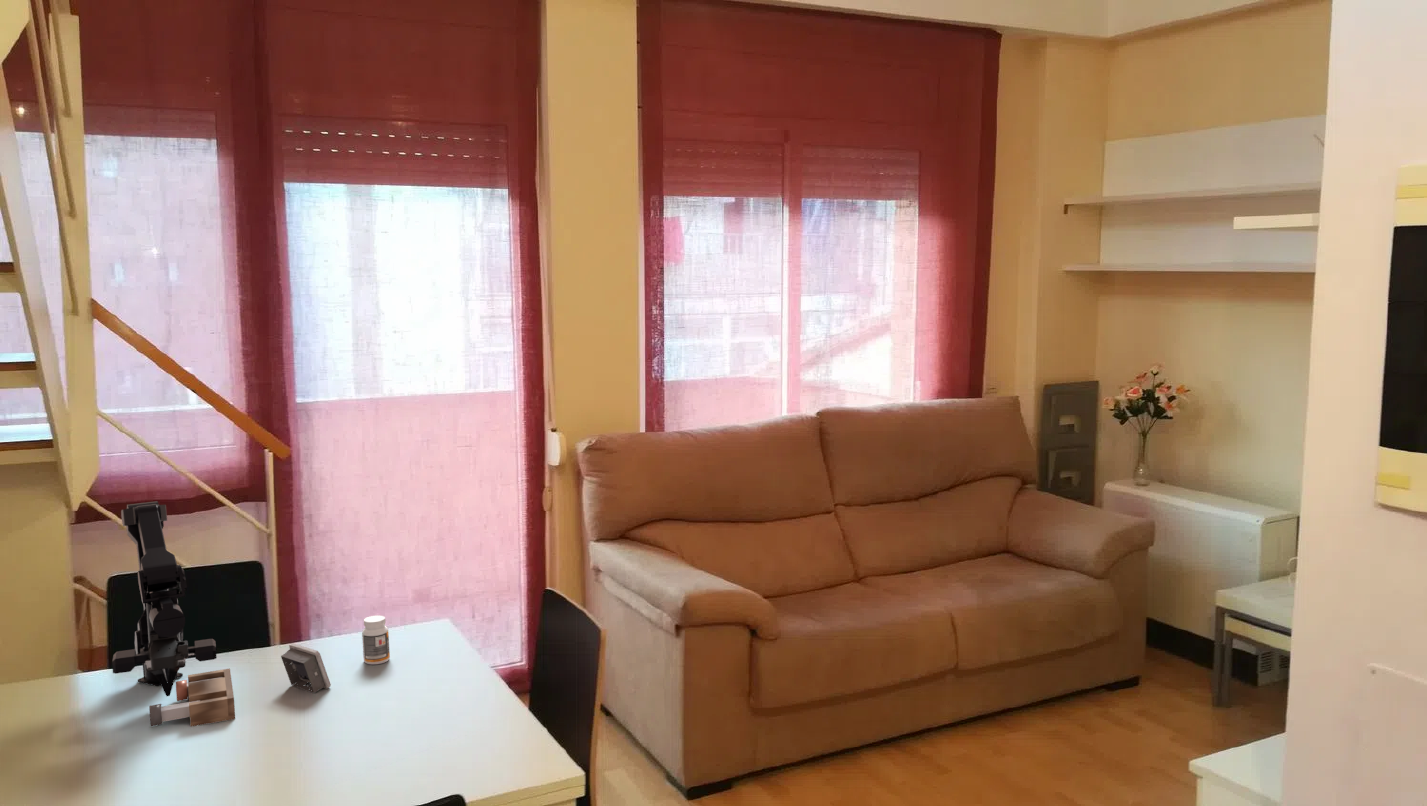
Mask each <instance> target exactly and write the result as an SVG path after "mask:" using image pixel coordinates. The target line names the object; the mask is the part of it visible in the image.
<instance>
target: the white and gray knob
mask: <svg viewBox="0 0 1427 806" xmlns="http://www.w3.org/2000/svg"><path fill="white" fill-rule="evenodd" d="M198 701H200V700H198ZM192 702H197V701H192ZM189 703H191V702H189V701H187V702H181V703H175V704H171V705H164V706H162V703H157V704H151V705H149V709H148V710H149V711H148V712H149V724H150V727H151V728H153V727H156V726H157V727H158V726H162V725H163V722H168V721H174V720H179V719H185V718H190V712H189Z"/></svg>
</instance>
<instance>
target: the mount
mask: <svg viewBox="0 0 1427 806" xmlns="http://www.w3.org/2000/svg"><path fill="white" fill-rule="evenodd" d="M219 677H222V678H219ZM187 678H188V679H187V683H188V682H192V683H188V690H189V697H188V702H191V703H189V712H190V717H189V722H190V723H189V724H190V725H189V726H190V727H197V725H198V726H202V725H203V726H204V725H208V724H209V725H210V724H213V723H220V722H225V721H231V720H235V719H236V710H235V697H234V695H235V694H234V689H233V680H232V675H231V669H230V668H229V667H228V668H224V669H218V670H212V671H205V672H198V673H194V674H193V673H192V674H188V675H187ZM212 678H216V679H212ZM206 679H210V680H206ZM200 680H204V681H200ZM194 681H198V682H194ZM198 700H200V701H198ZM192 701H197V702H192Z"/></svg>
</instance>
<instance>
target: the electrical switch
mask: <svg viewBox="0 0 1427 806" xmlns="http://www.w3.org/2000/svg"><path fill="white" fill-rule="evenodd" d="M288 648H289V649H288V650H287V651H286V652H285V653H283V654H282V655H280V658H281V660H282V663H283V665H284V669H285V672H286V674H287V677H288V680H289V683H290V686H292V687H295V688H297V689H300V690H303V691H306V692H310V693H312V694H315V693H317V692H318V691H320V690H322V689H326V690H328V689H329V688H330V687H331V685H332V683H331V682H330V679H329V675H328V673H327V670H326V667H325V665H324V662H323V658H322V655H321V653H320V652H319V651H318V650H316V649H314V648H310V647H307V646H303V645H300V644H297V643H291V644H290V645H288Z"/></svg>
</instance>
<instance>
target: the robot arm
mask: <svg viewBox="0 0 1427 806" xmlns="http://www.w3.org/2000/svg"><path fill="white" fill-rule="evenodd" d="M120 514H121V522H122V523H121V524H122V527H125V528H126V536H128V538H129V539H130V540H131V541H132V542H133V543H134V544H135V545H136V552H137V553H136V554H137V561H138V562H137V563H138V568H139V569H138V570H137V581H138V586H139V587H138V588H139V591H140V592H139V594H140V598H141V603H142V605H143V612H142V614H141V616H140V619H139V620H138V622H137V630H136V631H134V648H133V649H127V650H126V649H125V650H119V651H118V650H117V651H116V652H115V653H114V654H113V656H112V661H111V663H112V664H111V665H112V674H117V675H118V674H123V673H129V672H132V670H134V669H135V667H136V665H139V664H142V672H143V676H142V677H141V678H138V679H137V683H141V684H144V685H150V686H154V685H155V687H160V686H161V688H162V690H163V692H164V694H165V696H166V697H170V695H171V693H172V689H173V685H174V682H175V680H177V679H179V678H182V677H183V676H184V675H183V673H182V672H179V671H180V669H182V668H185V667H186V659H188V658H189V657H195V660H197V661H199V662H206V661H213V660H216V659H217V657H218V656H217V644H216V642H217V641H216V640H215V639H213V638H207V639H200V640H194V646H189V642H188V640H183V639H184V627H185V625H186V617H185V615H184V612H183V611H182V609H181V607H180V605H179V600H178V599H181V598H185V597H186V591H187V592H188V585H187V579H186V573H185V570H184V568H182V567H183V566H182V565H181V564H178V563H177V560H176V556H175V554H173V552H170V551H169V550H168V549H167V546H166V542H165V537H164V532H163V529H164V525H165V524H164V522H167V521H168V515H167V514H168V513H167V505H166V504H159V502H158V501H157V500H156V501H147V502H139V503H130V504H126V508H125V509H121V511H120ZM178 587H179V588H178ZM159 685H160V686H159Z"/></svg>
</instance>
